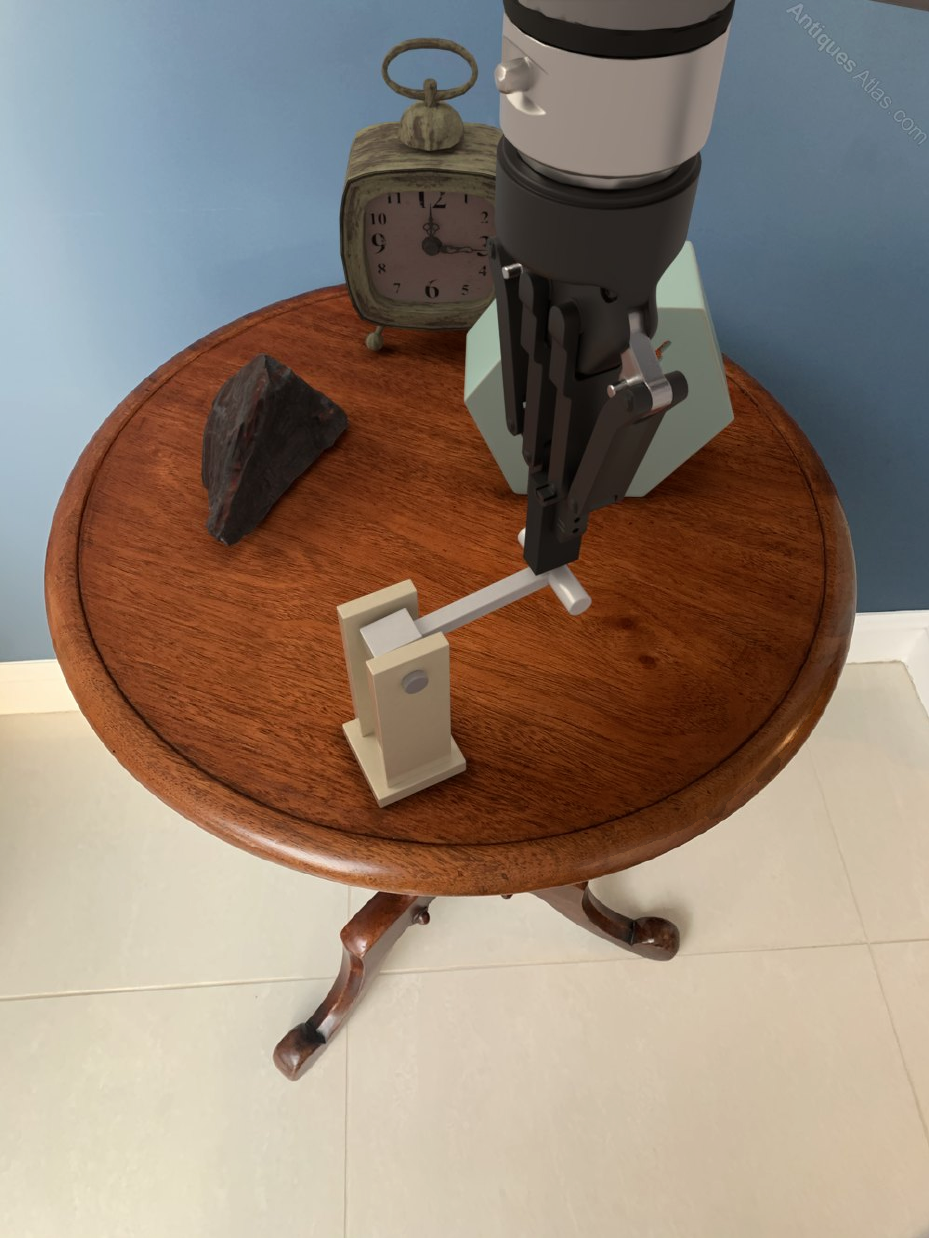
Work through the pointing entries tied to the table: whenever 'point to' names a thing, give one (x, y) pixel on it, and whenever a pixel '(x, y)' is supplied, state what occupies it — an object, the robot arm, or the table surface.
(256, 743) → the table surface
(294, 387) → the rock
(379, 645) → the faucet handle
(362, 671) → the faucet bracket
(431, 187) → the tabletop clock
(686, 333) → the planter
